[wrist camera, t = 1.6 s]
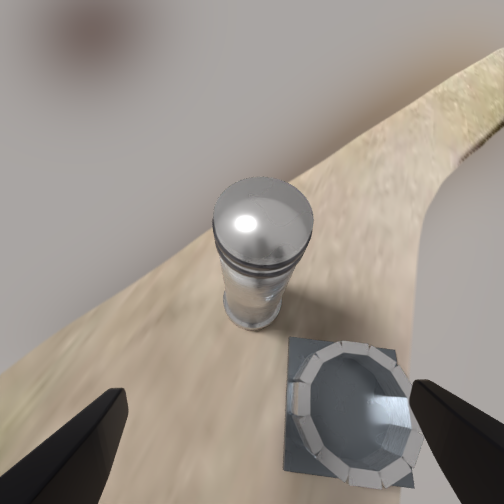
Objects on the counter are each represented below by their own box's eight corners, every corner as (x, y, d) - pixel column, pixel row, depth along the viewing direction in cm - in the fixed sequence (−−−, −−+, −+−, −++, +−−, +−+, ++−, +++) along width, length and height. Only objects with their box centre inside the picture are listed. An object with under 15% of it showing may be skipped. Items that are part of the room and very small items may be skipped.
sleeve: (410, 486, 17) (442, 504, 14) (282, 468, 17) (290, 483, 15) (391, 350, 21) (414, 345, 18) (288, 337, 21) (295, 330, 19)
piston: (278, 333, 21) (321, 272, 10) (219, 326, 22) (194, 257, 10) (281, 278, 24) (319, 178, 12) (228, 272, 24) (217, 166, 12)
